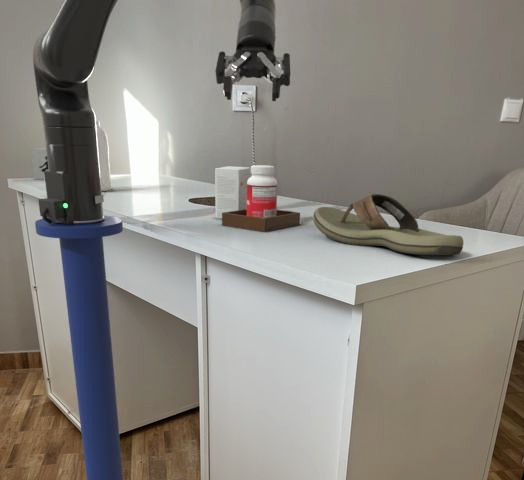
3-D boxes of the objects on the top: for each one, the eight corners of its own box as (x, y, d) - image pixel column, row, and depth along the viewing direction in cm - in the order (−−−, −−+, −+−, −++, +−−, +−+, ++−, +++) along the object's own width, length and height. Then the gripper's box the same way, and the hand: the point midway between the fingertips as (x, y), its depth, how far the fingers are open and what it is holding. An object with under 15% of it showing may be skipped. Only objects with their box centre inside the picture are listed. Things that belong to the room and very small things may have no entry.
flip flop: (302, 235, 104) (304, 188, 101) (347, 229, 111) (350, 186, 108) (430, 265, 83) (438, 208, 80) (476, 257, 90) (485, 203, 86)
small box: (227, 213, 128) (227, 165, 124) (250, 215, 126) (251, 166, 122) (214, 218, 121) (214, 167, 117) (238, 220, 119) (239, 169, 115)
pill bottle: (251, 219, 118) (252, 164, 114) (279, 221, 116) (281, 165, 112) (242, 223, 112) (243, 166, 108) (271, 225, 111) (273, 167, 107)
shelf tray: (264, 231, 107) (265, 218, 106) (221, 225, 113) (221, 212, 112) (299, 224, 116) (300, 212, 115) (258, 218, 122) (258, 207, 121)
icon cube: (42, 176, 205) (38, 148, 201) (70, 177, 206) (67, 148, 202) (34, 179, 195) (30, 149, 192) (63, 179, 196) (60, 149, 193)
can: (97, 193, 160) (90, 118, 153) (59, 191, 163) (51, 117, 156) (119, 189, 171) (114, 119, 164) (83, 187, 174) (77, 118, 167)
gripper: (219, 18, 107) (211, 79, 101) (292, 20, 107) (289, 81, 100) (222, 52, 114) (215, 111, 108) (291, 54, 114) (288, 113, 107)
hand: (251, 96), depth 104 cm, fingers open, 8 cm apart
